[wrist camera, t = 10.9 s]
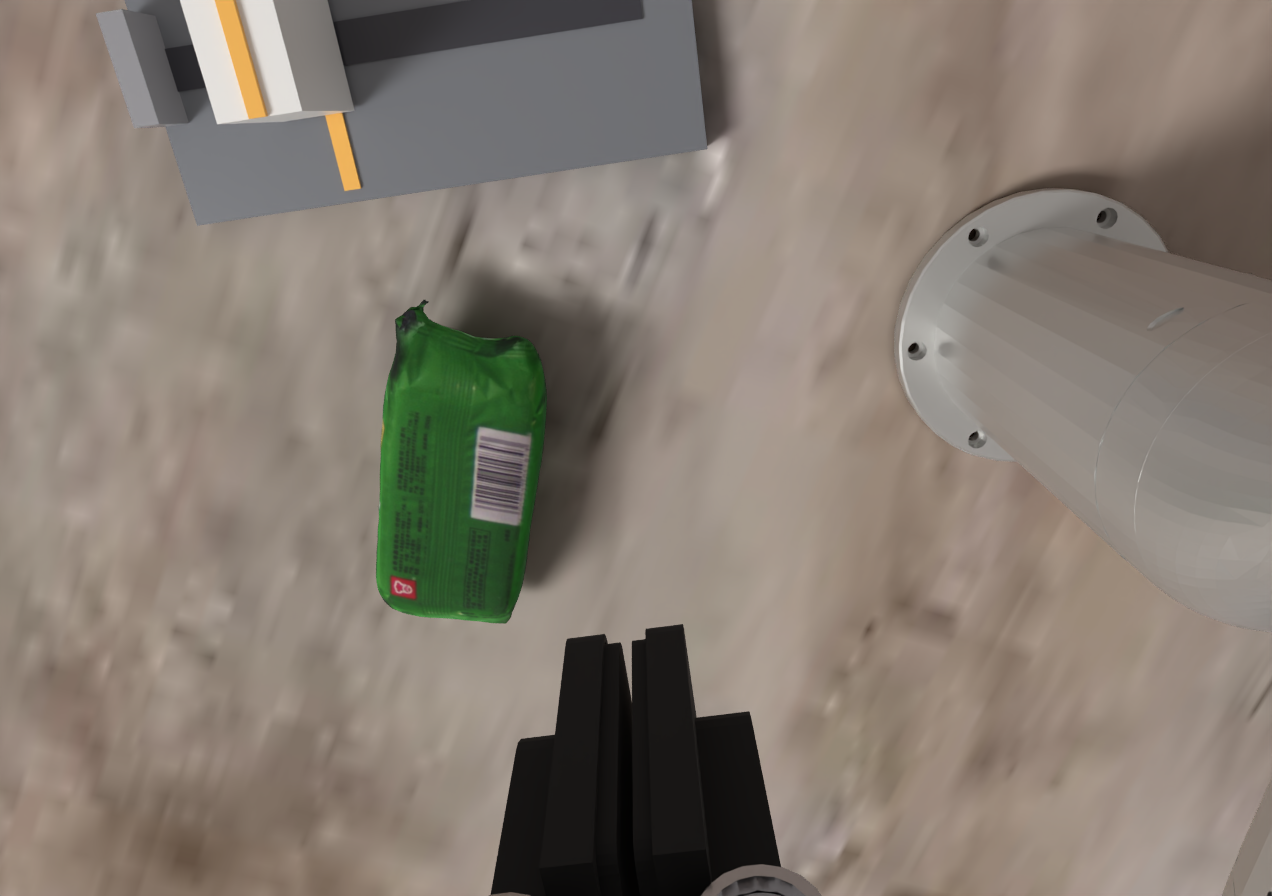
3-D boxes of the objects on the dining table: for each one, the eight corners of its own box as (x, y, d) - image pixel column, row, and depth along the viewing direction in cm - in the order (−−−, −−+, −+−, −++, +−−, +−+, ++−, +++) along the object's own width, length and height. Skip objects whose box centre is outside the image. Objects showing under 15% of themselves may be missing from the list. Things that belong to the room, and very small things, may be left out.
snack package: (565, 316, 40) (555, 345, 35) (525, 605, 45) (511, 663, 41) (411, 291, 39) (380, 316, 35) (390, 585, 45) (360, 642, 40)
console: (669, -184, 33) (674, -218, 29) (705, 147, 37) (712, 151, 34) (111, -91, 34) (53, -113, 30) (210, 222, 38) (169, 233, 35)
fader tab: (320, -28, 33) (255, -57, 27) (354, 110, 35) (299, 111, 29) (245, -16, 33) (164, -41, 27) (282, 121, 35) (214, 124, 29)
